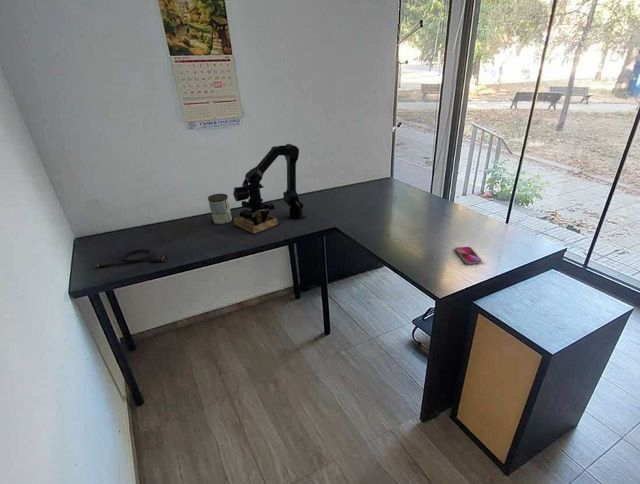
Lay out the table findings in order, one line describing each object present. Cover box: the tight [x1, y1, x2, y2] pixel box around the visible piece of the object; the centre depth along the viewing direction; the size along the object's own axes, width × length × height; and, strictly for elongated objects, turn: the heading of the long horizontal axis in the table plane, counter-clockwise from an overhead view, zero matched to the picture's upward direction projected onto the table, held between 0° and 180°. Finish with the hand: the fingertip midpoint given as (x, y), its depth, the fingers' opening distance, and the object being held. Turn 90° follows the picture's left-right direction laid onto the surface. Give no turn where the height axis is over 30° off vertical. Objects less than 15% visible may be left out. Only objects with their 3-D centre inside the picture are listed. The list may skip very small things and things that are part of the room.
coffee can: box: [207, 193, 233, 225], centre depth 211 cm, size 10×10×14 cm
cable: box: [96, 248, 166, 268], centre depth 178 cm, size 14×28×2 cm, turn 100°
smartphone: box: [455, 246, 482, 265], centre depth 176 cm, size 7×1×15 cm
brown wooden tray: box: [233, 211, 279, 234], centre depth 208 cm, size 16×17×4 cm
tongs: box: [244, 220, 264, 226], centre depth 208 cm, size 14×6×3 cm, turn 49°
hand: (259, 225), depth 207 cm, fingers open, 5 cm apart
